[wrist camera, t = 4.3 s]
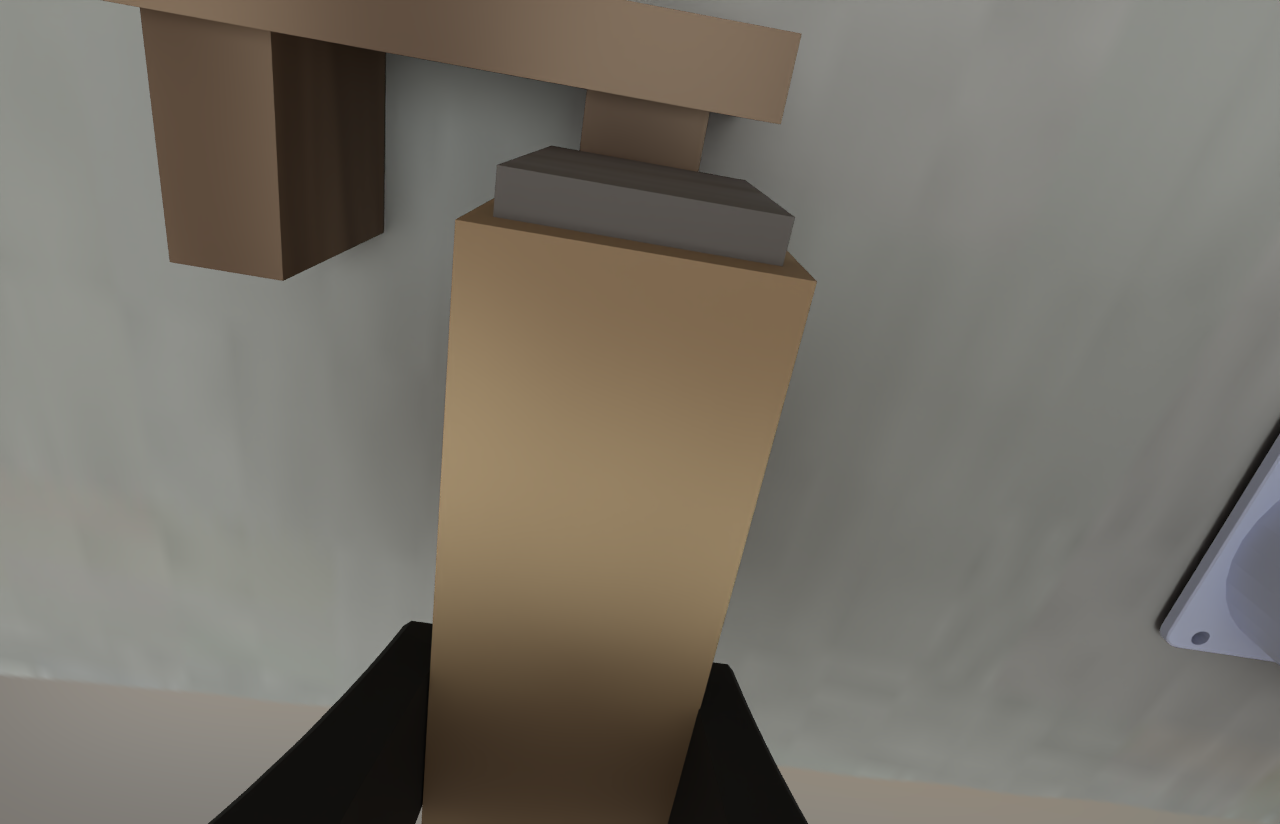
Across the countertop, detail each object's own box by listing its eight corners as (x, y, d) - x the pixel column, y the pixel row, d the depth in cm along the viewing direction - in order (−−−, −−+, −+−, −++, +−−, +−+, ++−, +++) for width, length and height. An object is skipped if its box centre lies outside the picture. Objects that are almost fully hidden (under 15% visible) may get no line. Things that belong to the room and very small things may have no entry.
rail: (539, 141, 11) (459, 164, 6) (757, 179, 11) (831, 229, 6) (476, 774, 17) (409, 1028, 12) (619, 793, 17) (606, 1048, 12)
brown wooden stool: (749, 58, 15) (801, 33, 10) (701, 286, 17) (723, 372, 12) (245, -37, 15) (0, -119, 9) (260, 211, 17) (68, 264, 11)
